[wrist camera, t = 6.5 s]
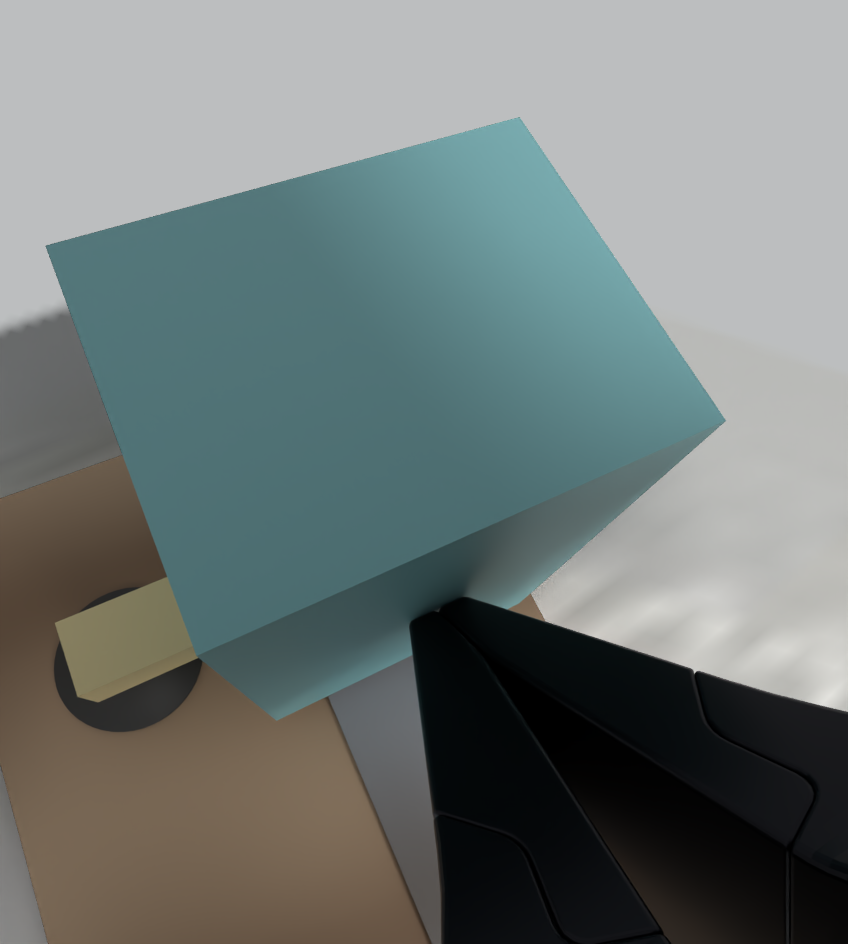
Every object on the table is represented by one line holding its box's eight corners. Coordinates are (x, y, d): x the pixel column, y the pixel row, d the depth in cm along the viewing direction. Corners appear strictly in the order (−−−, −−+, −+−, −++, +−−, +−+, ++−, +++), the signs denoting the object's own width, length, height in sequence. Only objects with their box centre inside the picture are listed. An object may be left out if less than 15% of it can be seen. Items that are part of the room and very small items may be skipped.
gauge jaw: (518, 603, 14) (726, 421, 7) (141, 786, 12) (-168, 817, 5) (429, 433, 15) (519, 116, 8) (72, 573, 13) (-260, 328, 6)
